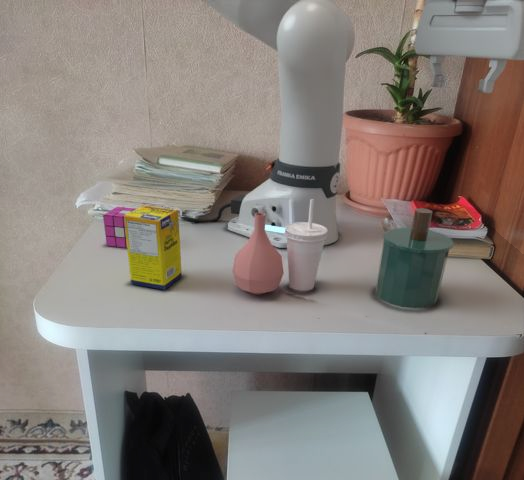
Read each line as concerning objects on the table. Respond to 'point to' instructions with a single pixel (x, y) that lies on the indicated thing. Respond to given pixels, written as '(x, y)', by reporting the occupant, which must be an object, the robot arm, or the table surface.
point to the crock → (410, 277)
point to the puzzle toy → (116, 226)
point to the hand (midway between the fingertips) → (459, 89)
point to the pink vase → (258, 262)
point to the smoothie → (304, 251)
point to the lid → (419, 236)
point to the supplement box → (153, 246)
